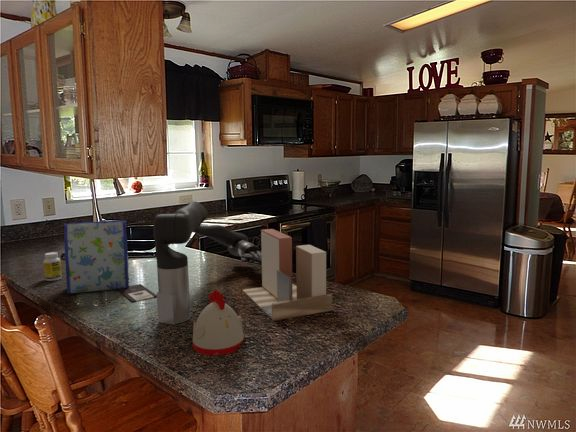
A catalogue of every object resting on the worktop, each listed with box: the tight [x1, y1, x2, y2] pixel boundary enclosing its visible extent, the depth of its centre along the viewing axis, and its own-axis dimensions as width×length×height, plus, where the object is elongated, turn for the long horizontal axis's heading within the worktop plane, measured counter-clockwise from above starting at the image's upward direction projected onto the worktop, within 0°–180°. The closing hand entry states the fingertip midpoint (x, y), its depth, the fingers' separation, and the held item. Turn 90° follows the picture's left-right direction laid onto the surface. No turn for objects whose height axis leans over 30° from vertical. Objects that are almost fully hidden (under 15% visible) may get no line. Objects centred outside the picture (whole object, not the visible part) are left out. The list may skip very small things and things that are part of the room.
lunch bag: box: [63, 219, 130, 294], centre depth 166 cm, size 22×17×26 cm
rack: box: [242, 282, 333, 321], centre depth 148 cm, size 32×20×6 cm, turn 23°
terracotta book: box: [260, 228, 293, 300], centre depth 153 cm, size 18×5×22 cm, turn 23°
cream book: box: [295, 244, 327, 299], centre depth 141 cm, size 12×5×19 cm, turn 23°
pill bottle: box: [43, 251, 63, 282], centre depth 178 cm, size 6×6×11 cm
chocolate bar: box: [116, 283, 157, 303], centre depth 159 cm, size 9×1×18 cm
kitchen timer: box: [192, 289, 245, 356], centre depth 116 cm, size 14×14×15 cm
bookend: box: [261, 270, 291, 319], centre depth 136 cm, size 10×6×12 cm, turn 23°
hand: (263, 262), depth 166 cm, fingers closed
